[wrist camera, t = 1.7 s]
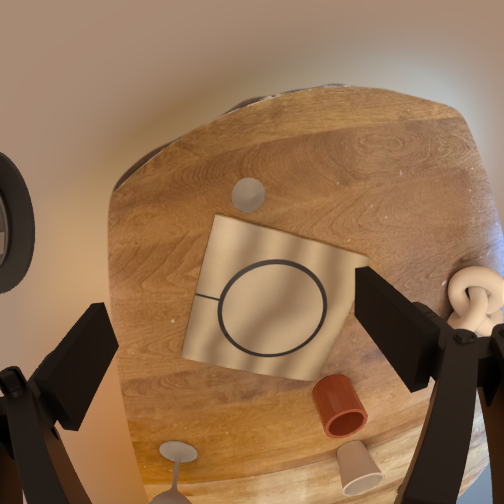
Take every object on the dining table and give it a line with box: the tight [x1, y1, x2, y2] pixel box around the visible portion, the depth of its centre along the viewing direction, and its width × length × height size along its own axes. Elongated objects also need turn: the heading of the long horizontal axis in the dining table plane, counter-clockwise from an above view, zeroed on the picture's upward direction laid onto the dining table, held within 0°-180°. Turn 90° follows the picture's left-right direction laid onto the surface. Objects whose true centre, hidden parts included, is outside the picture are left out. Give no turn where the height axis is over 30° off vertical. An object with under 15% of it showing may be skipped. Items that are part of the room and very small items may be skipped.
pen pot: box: [313, 375, 368, 438], centre depth 41 cm, size 6×6×8 cm
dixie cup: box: [337, 441, 385, 496], centre depth 46 cm, size 8×8×10 cm
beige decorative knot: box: [447, 266, 504, 337], centre depth 37 cm, size 11×12×9 cm
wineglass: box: [150, 441, 198, 504], centre depth 37 cm, size 8×8×21 cm
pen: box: [231, 178, 265, 213], centre depth 28 cm, size 2×3×14 cm
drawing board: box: [181, 213, 371, 382], centre depth 39 cm, size 20×20×1 cm
